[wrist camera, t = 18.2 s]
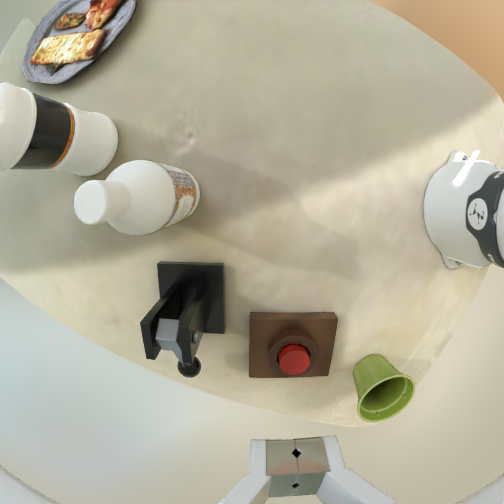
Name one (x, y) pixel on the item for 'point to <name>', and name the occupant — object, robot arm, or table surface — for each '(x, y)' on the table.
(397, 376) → the plant pot
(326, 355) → the button block
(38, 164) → the vodka
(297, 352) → the button
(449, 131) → the table surface
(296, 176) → the table surface
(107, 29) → the food plate
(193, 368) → the lever
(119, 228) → the bath foam
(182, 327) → the tap bracket
